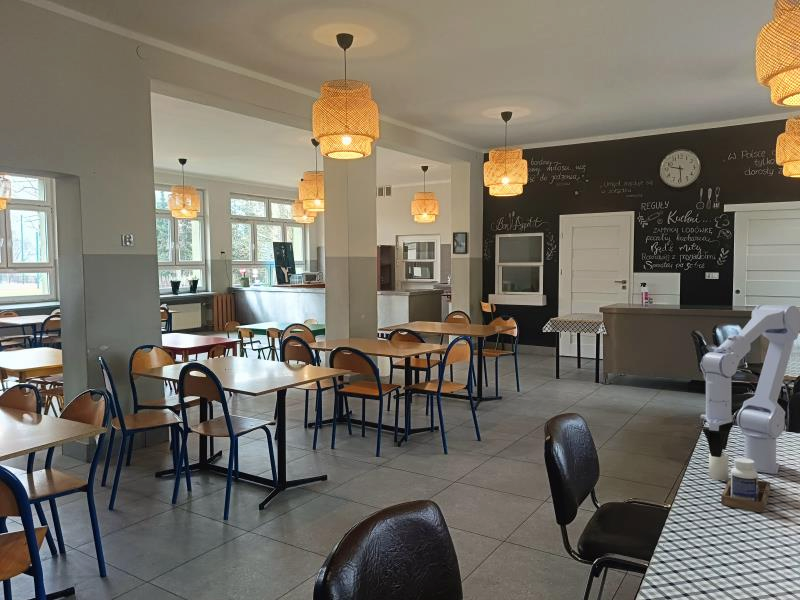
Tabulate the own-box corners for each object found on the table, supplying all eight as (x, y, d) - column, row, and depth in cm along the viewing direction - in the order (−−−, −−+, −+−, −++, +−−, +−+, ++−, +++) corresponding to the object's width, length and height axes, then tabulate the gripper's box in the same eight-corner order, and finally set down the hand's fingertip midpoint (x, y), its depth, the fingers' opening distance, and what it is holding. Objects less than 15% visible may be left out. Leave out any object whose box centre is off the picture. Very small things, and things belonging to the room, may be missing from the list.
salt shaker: (710, 474, 152) (710, 448, 152) (729, 477, 150) (729, 450, 149) (707, 478, 149) (707, 452, 148) (727, 482, 146) (727, 455, 146)
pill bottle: (762, 507, 130) (762, 464, 129) (735, 506, 131) (735, 463, 130) (752, 498, 135) (752, 457, 135) (727, 497, 136) (727, 456, 136)
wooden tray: (731, 483, 145) (731, 475, 145) (770, 490, 140) (770, 482, 140) (721, 504, 132) (721, 495, 132) (763, 512, 127) (763, 503, 127)
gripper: (706, 393, 157) (706, 443, 157) (695, 403, 145) (695, 457, 145) (736, 396, 152) (736, 447, 153) (727, 406, 141) (727, 462, 141)
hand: (718, 452), depth 149 cm, fingers open, 7 cm apart
